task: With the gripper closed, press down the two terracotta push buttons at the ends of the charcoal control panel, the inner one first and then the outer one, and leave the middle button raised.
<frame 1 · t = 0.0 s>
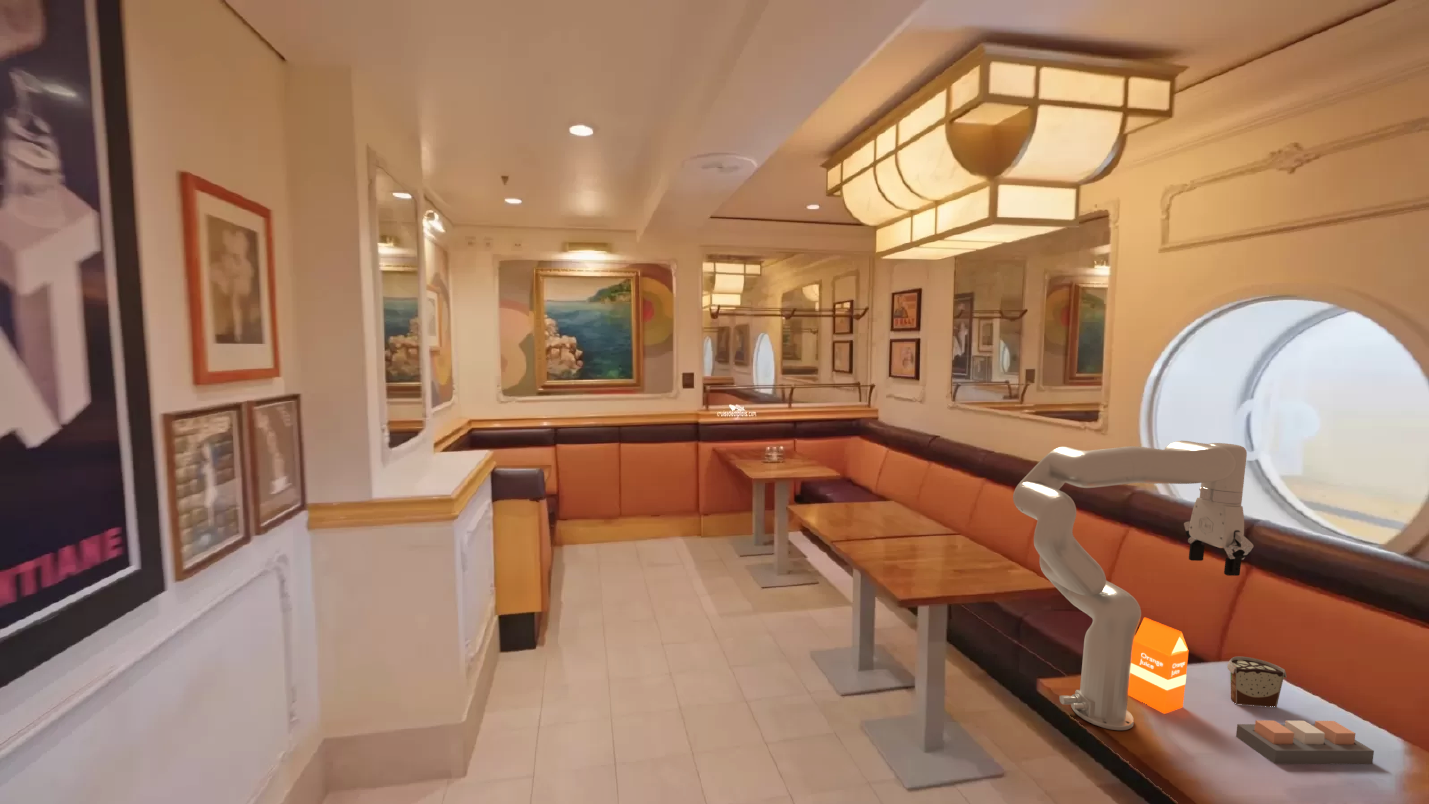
hand: (1213, 567, 141), 37 cm above the table, tool pointing down, fingers open, 9 cm apart
inner button: (1273, 735, 132), point 3 cm above the table, slide at 0.0 cm
middle button: (1303, 735, 132), point 3 cm above the table, slide at 0.0 cm
control panel: (1302, 749, 133), on the table
outer button: (1333, 735, 133), point 3 cm above the table, slide at 0.0 cm
orange juice: (1154, 701, 150), on the table
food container: (1246, 700, 152), on the table
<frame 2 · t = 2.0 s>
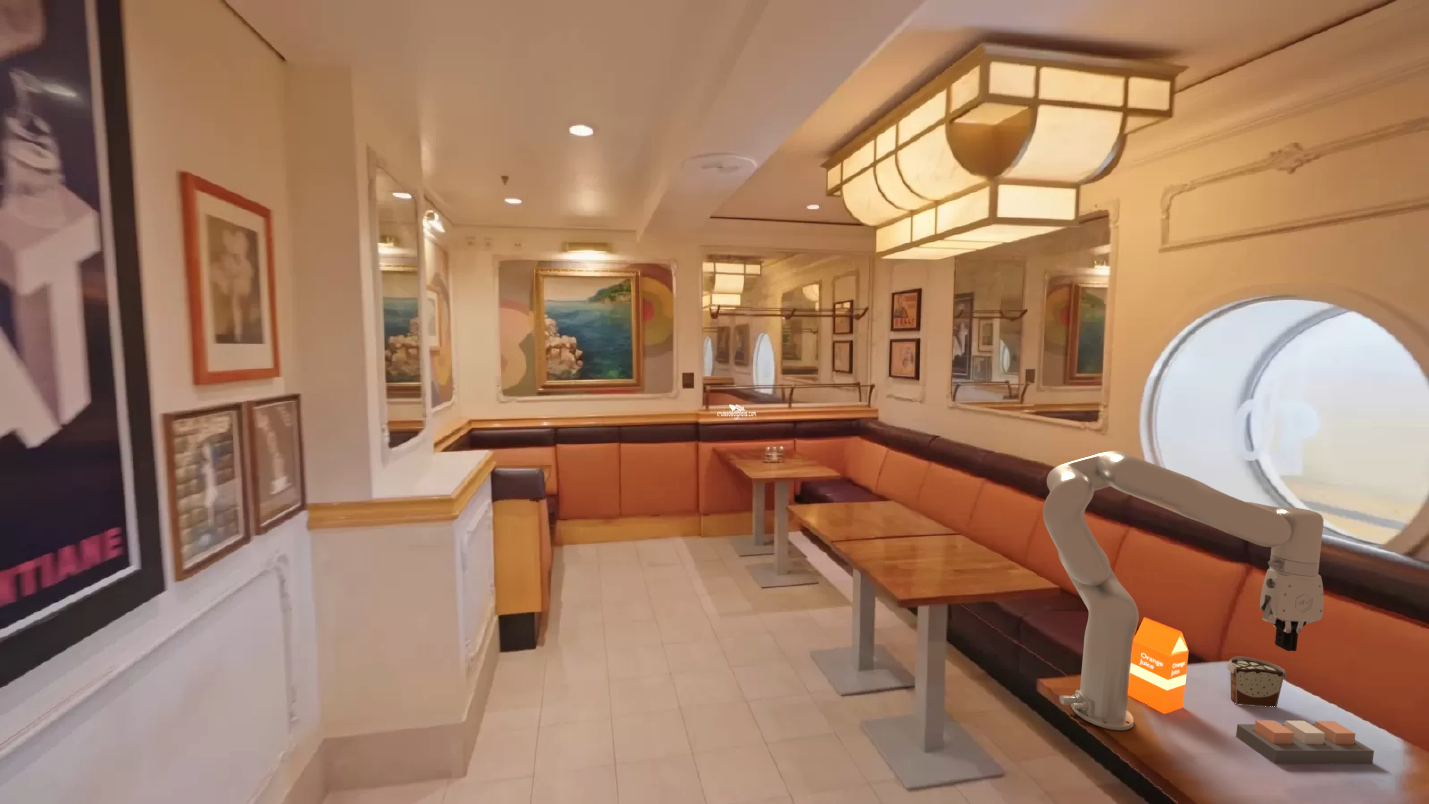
hand: (1285, 647, 130), 23 cm above the table, tool pointing down, fingers closed
nothing on the table moved.
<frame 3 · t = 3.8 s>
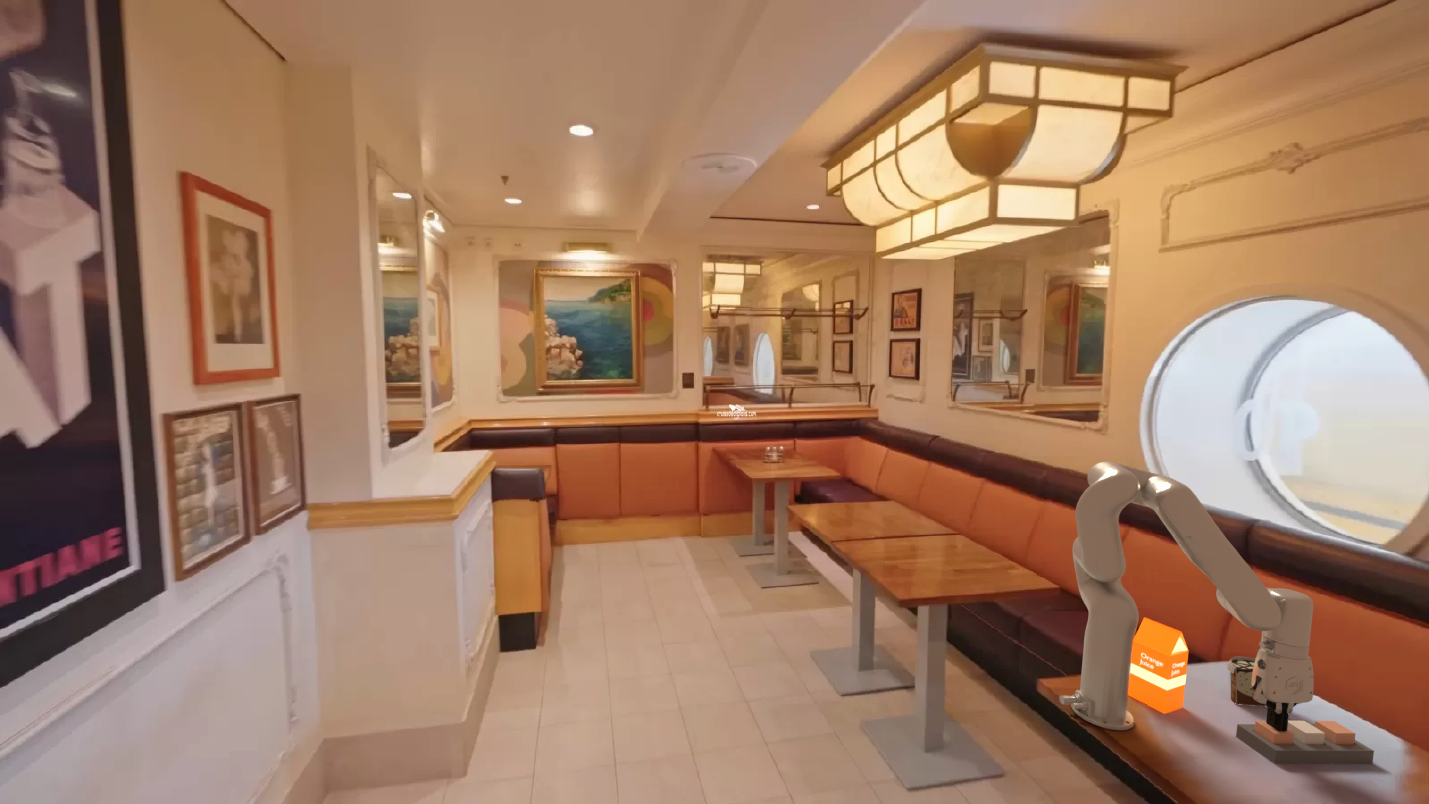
hand: (1276, 727, 132), 5 cm above the table, tool pointing down, fingers closed
inner button: (1273, 735, 132), point 3 cm above the table, slide at 0.1 cm, touching gripper
everything else where it was.
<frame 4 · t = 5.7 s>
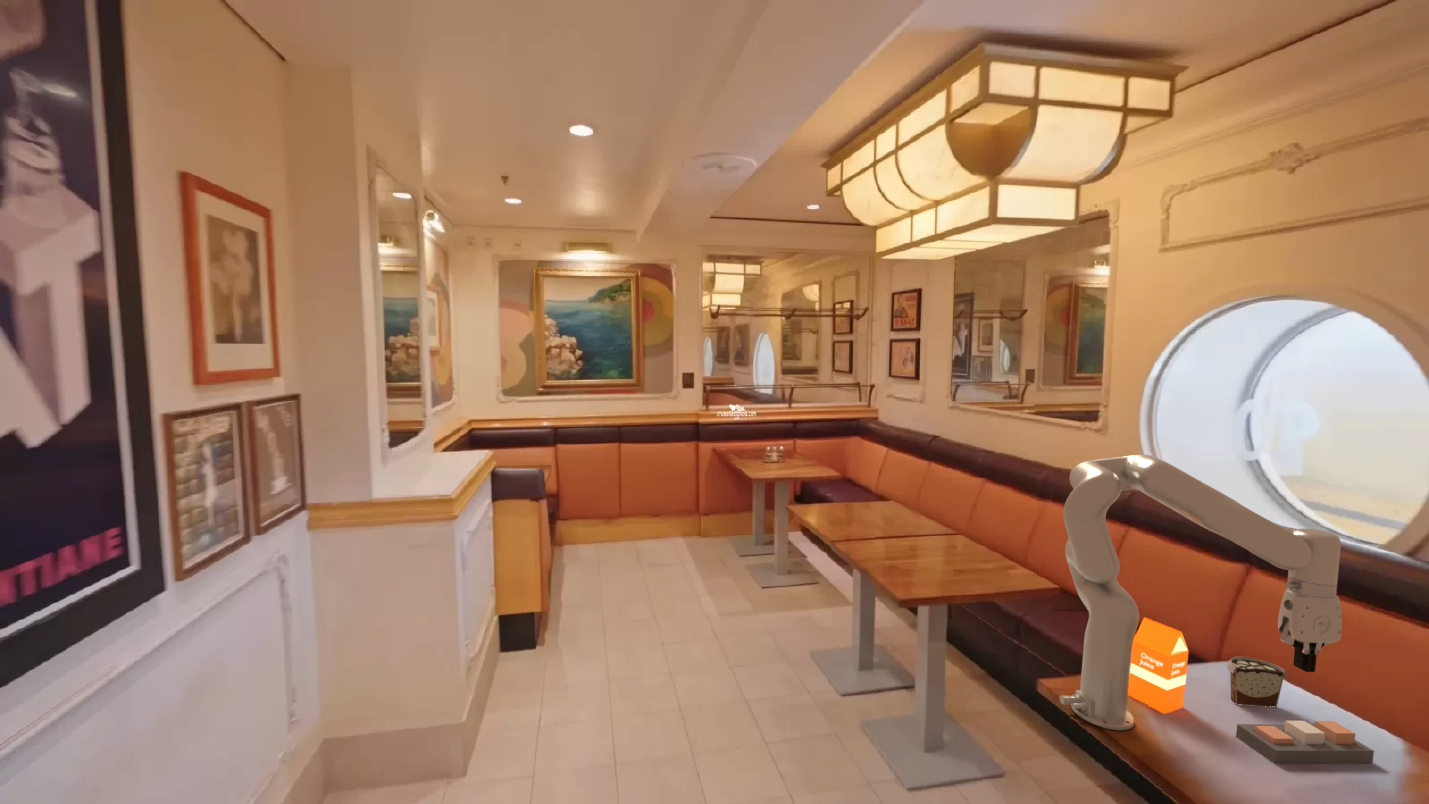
hand: (1304, 668, 131), 19 cm above the table, tool pointing down, fingers closed
inner button: (1272, 740, 132), point 2 cm above the table, slide at 1.3 cm
everything else where it was.
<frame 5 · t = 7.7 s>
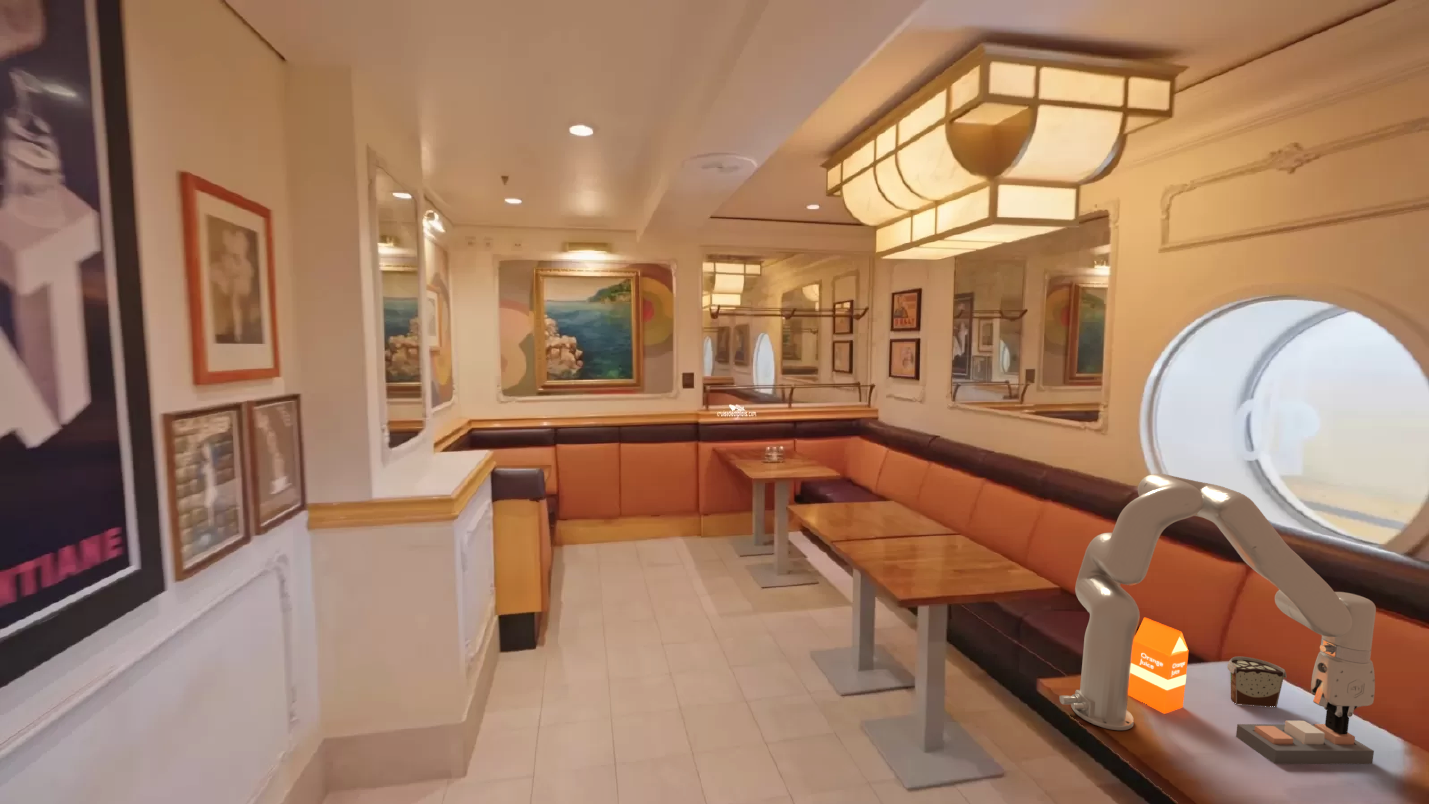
hand: (1335, 730, 133), 5 cm above the table, tool pointing down, fingers closed
outer button: (1333, 738, 133), point 3 cm above the table, slide at 0.8 cm, touching gripper
everything else where it was.
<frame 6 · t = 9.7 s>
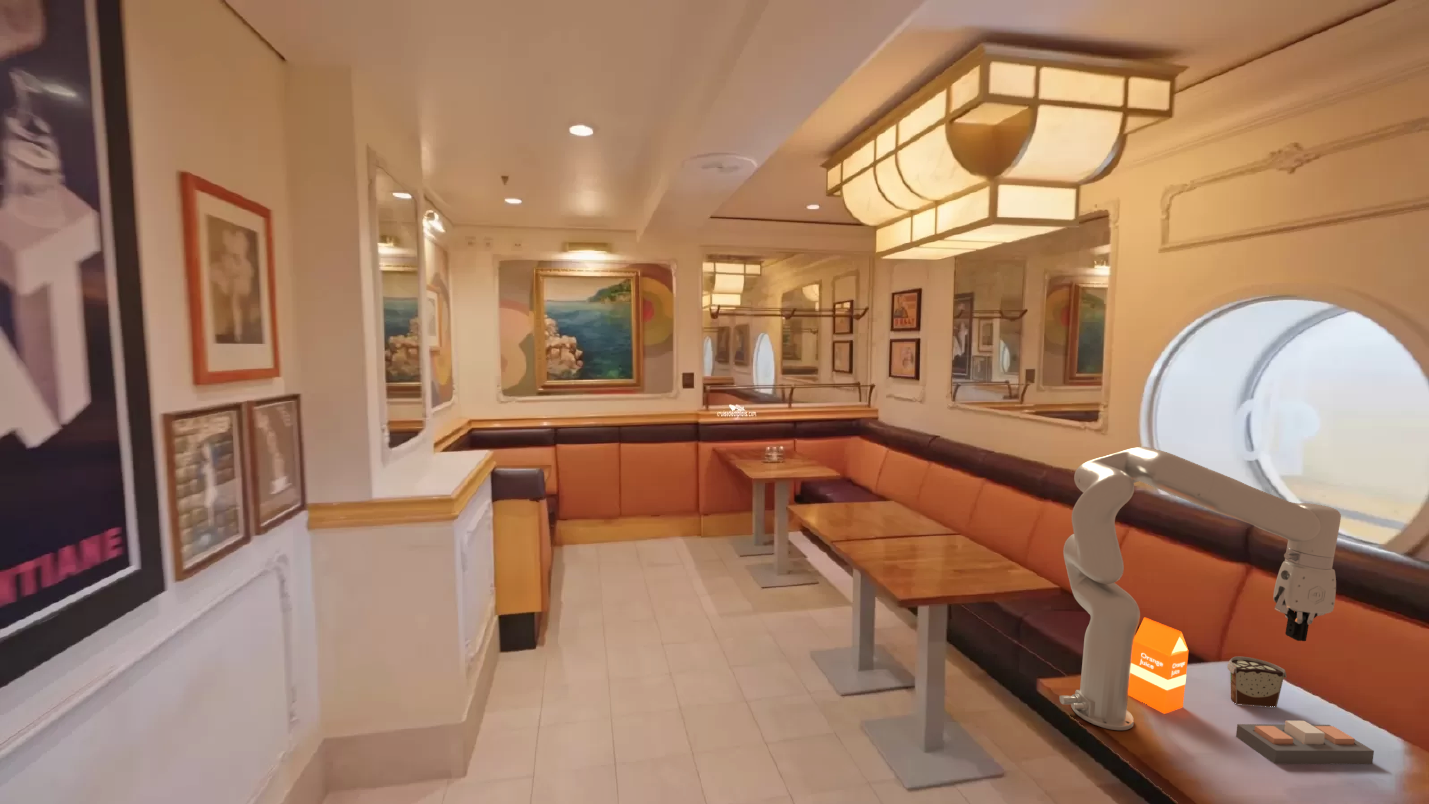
hand: (1295, 638, 135), 23 cm above the table, tool pointing down, fingers closed
outer button: (1333, 740, 133), point 2 cm above the table, slide at 1.3 cm
everything else where it was.
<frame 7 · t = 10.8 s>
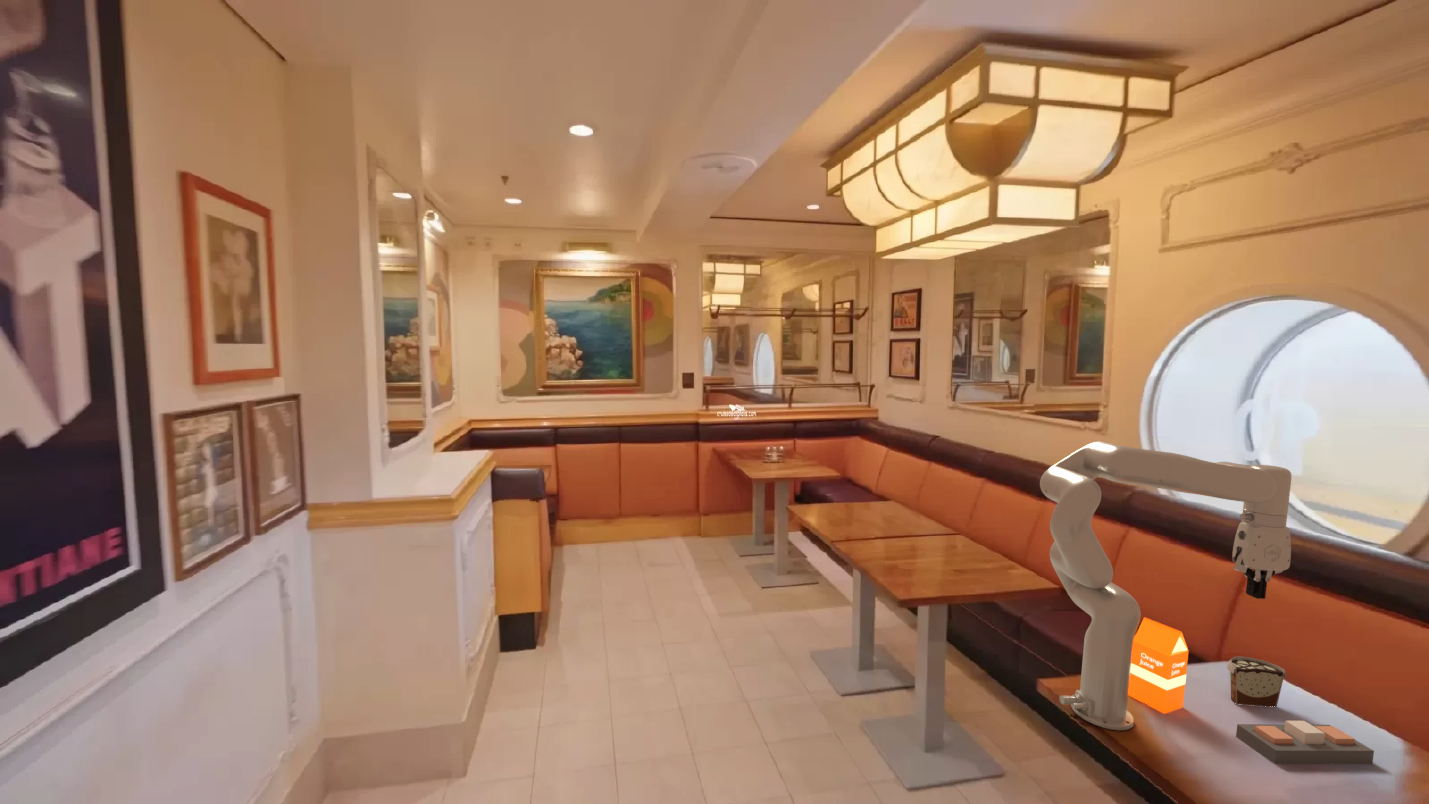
hand: (1255, 596, 139), 31 cm above the table, tool pointing down, fingers closed
nothing on the table moved.
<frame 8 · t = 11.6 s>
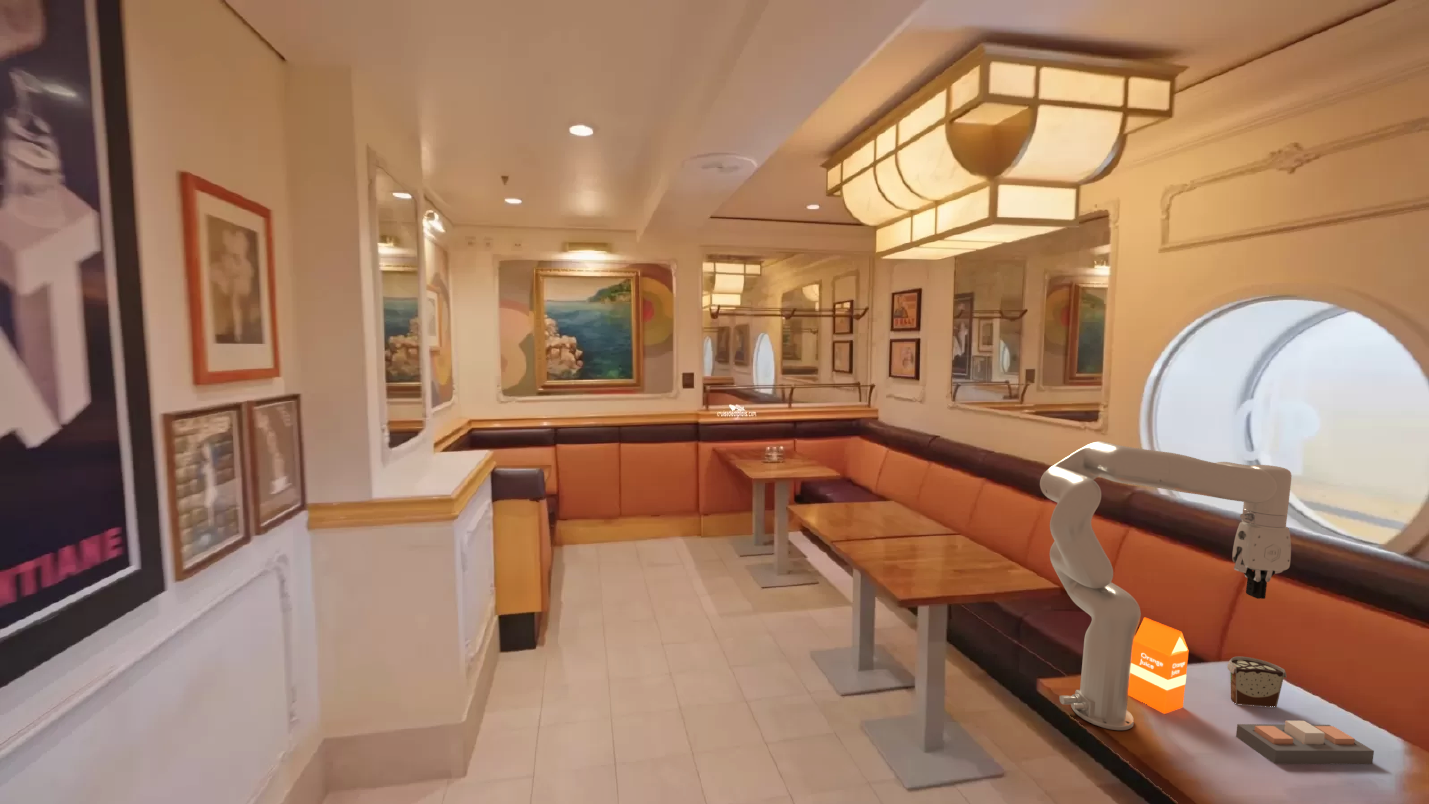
hand: (1255, 596, 139), 31 cm above the table, tool pointing down, fingers closed
nothing on the table moved.
at the end: inner button slide at 1.3 cm; outer button slide at 1.3 cm; middle button slide at 0.0 cm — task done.
